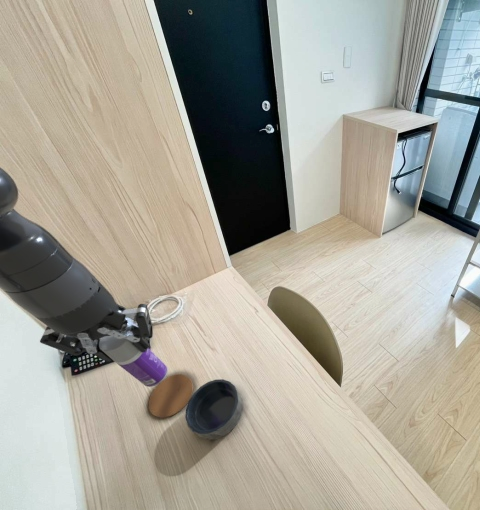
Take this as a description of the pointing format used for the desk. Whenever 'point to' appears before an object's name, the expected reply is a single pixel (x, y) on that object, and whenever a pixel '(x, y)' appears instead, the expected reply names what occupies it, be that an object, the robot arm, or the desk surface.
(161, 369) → the container
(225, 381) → the bowl
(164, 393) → the coaster
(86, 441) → the desk surface
